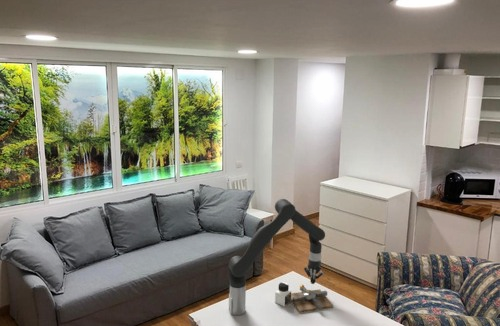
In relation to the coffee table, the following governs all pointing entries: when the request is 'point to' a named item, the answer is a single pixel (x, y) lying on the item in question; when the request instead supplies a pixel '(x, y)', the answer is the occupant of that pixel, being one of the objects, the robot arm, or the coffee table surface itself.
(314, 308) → the stand board
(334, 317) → the coffee table surface
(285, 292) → the medicine bottle
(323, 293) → the spoked handwheel
